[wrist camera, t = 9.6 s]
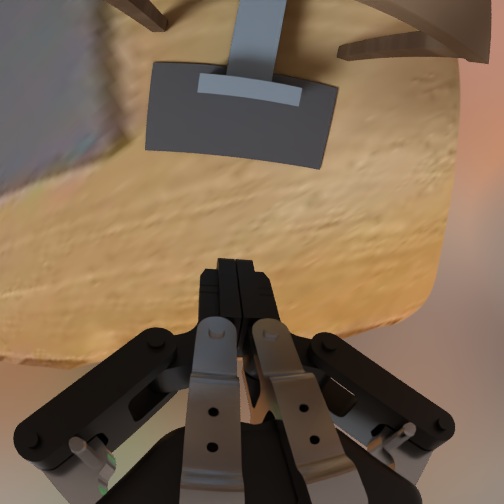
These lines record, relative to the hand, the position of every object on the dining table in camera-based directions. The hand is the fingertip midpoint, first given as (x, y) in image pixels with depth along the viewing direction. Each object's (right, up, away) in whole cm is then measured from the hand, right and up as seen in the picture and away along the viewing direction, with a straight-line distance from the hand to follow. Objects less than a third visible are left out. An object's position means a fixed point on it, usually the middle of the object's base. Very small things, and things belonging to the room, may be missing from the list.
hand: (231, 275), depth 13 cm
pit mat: (0, +11, +7) cm, 13 cm away
